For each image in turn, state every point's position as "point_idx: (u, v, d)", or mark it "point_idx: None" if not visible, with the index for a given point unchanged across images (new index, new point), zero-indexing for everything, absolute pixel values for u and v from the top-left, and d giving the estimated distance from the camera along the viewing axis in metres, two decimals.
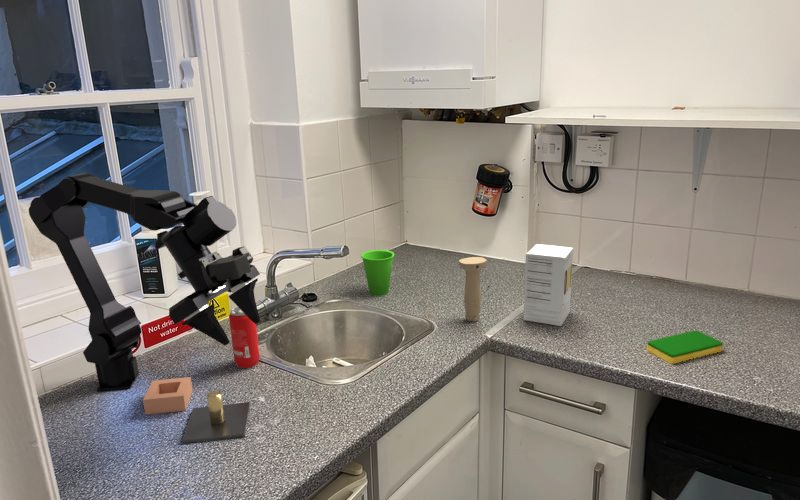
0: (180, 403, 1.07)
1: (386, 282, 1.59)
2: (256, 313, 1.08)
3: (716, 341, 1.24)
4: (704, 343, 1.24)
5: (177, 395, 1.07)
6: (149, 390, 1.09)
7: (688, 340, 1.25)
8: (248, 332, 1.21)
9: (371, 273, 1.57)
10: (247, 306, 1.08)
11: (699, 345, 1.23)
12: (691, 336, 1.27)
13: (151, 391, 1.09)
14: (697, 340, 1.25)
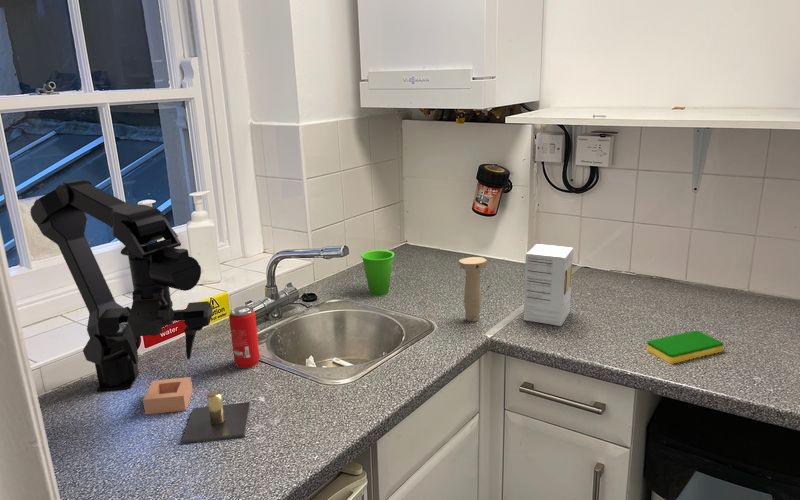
0: (180, 403, 1.07)
1: (386, 282, 1.59)
2: (187, 352, 1.08)
3: (716, 341, 1.24)
4: (704, 343, 1.23)
5: (177, 395, 1.07)
6: (149, 390, 1.09)
7: (689, 340, 1.25)
8: (248, 332, 1.21)
9: (371, 273, 1.57)
10: None
11: (699, 345, 1.22)
12: (691, 336, 1.27)
13: (151, 391, 1.09)
14: (697, 340, 1.25)
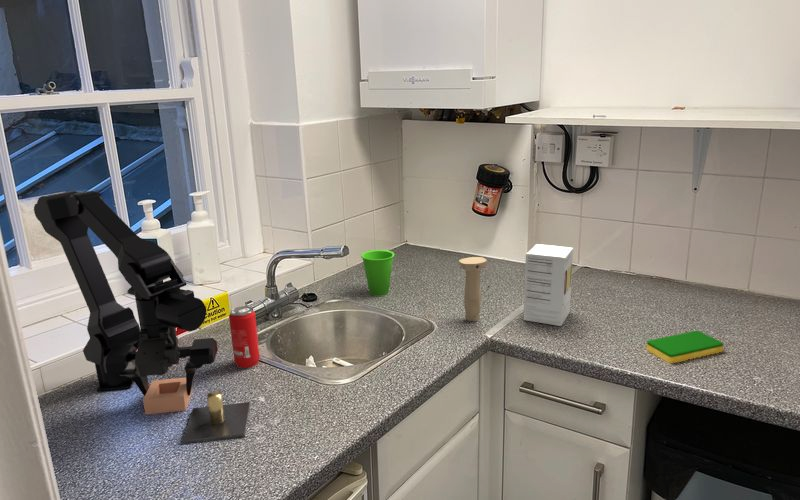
0: (180, 403, 1.07)
1: (386, 282, 1.59)
2: (187, 389, 1.10)
3: (717, 341, 1.24)
4: (704, 343, 1.23)
5: (177, 395, 1.07)
6: (149, 390, 1.09)
7: (689, 340, 1.25)
8: (248, 332, 1.21)
9: (371, 273, 1.57)
10: None
11: (699, 345, 1.22)
12: (692, 336, 1.27)
13: (151, 391, 1.09)
14: (697, 340, 1.25)
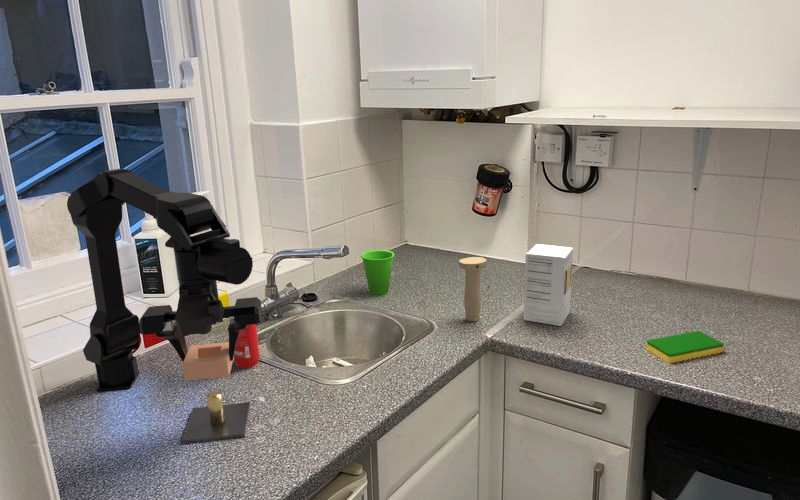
0: (223, 368, 0.97)
1: (386, 282, 1.59)
2: (230, 353, 1.00)
3: (717, 342, 1.24)
4: (704, 343, 1.23)
5: (219, 359, 0.97)
6: (188, 355, 0.99)
7: (689, 340, 1.25)
8: (248, 332, 1.21)
9: (371, 273, 1.57)
10: None
11: (699, 345, 1.22)
12: (692, 336, 1.26)
13: (190, 355, 0.99)
14: (698, 340, 1.25)
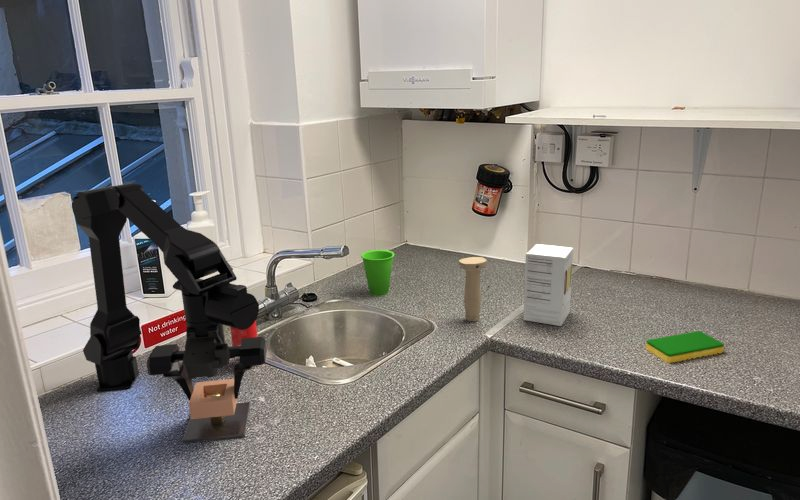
0: (228, 407, 0.99)
1: (386, 282, 1.59)
2: (235, 391, 1.02)
3: (717, 342, 1.24)
4: (704, 343, 1.23)
5: (225, 398, 0.99)
6: (194, 393, 1.01)
7: (689, 340, 1.25)
8: (248, 332, 1.21)
9: (371, 273, 1.57)
10: None
11: (699, 345, 1.22)
12: (692, 336, 1.26)
13: (196, 394, 1.01)
14: (698, 340, 1.25)
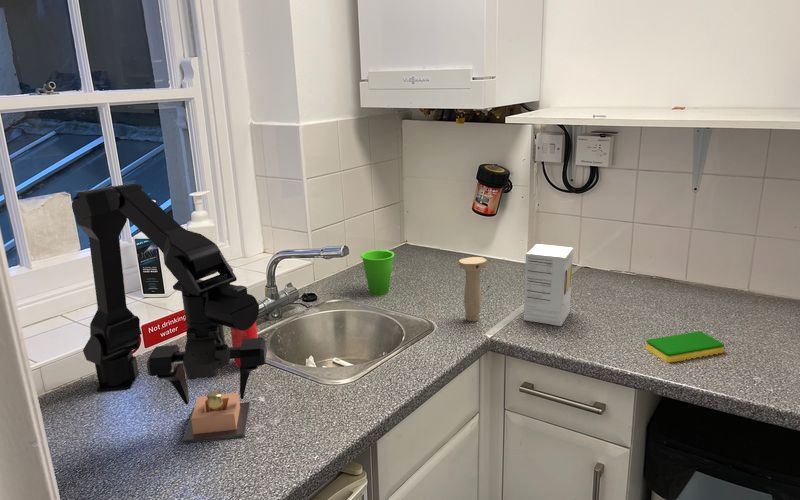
0: (230, 422, 1.00)
1: (386, 282, 1.59)
2: (241, 392, 1.02)
3: (717, 342, 1.23)
4: (705, 343, 1.23)
5: (227, 413, 1.00)
6: (196, 407, 1.02)
7: (689, 340, 1.25)
8: (248, 332, 1.21)
9: (371, 273, 1.57)
10: None
11: (698, 345, 1.22)
12: (693, 336, 1.26)
13: (198, 409, 1.02)
14: (698, 340, 1.25)
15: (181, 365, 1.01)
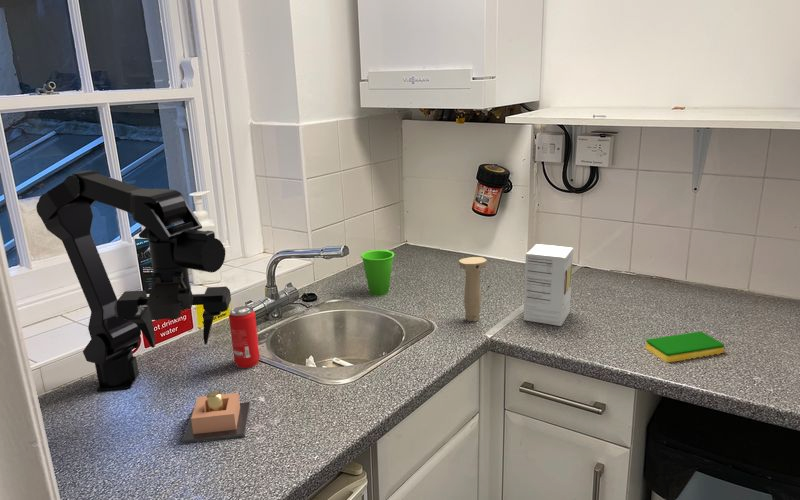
0: (230, 422, 1.00)
1: (386, 282, 1.59)
2: (204, 337, 1.07)
3: (718, 343, 1.23)
4: (705, 343, 1.23)
5: (227, 413, 1.00)
6: (196, 407, 1.02)
7: (689, 340, 1.25)
8: (248, 332, 1.21)
9: (371, 273, 1.57)
10: None
11: (698, 346, 1.22)
12: (693, 337, 1.26)
13: (198, 409, 1.02)
14: (698, 340, 1.25)
15: None
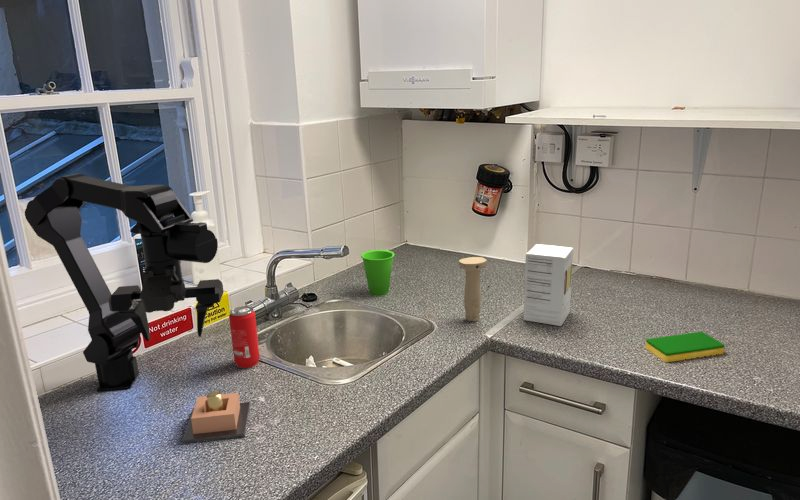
0: (230, 422, 1.00)
1: (386, 282, 1.59)
2: (198, 329, 1.09)
3: (718, 343, 1.23)
4: (705, 344, 1.23)
5: (227, 413, 1.00)
6: (196, 407, 1.02)
7: (689, 340, 1.25)
8: (248, 332, 1.21)
9: (371, 273, 1.57)
10: None
11: (698, 346, 1.22)
12: (693, 337, 1.26)
13: (198, 409, 1.02)
14: (698, 340, 1.25)
15: (142, 304, 1.09)
